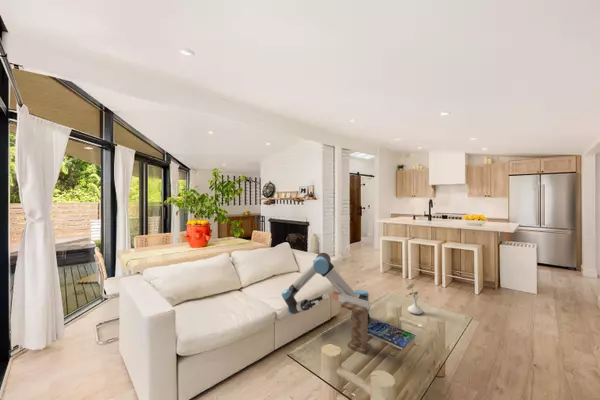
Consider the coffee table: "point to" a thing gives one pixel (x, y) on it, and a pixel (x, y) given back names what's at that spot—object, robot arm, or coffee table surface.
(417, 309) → the flower in vase
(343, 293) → the robot arm
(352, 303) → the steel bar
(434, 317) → the coffee table surface
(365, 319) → the walnut stand
